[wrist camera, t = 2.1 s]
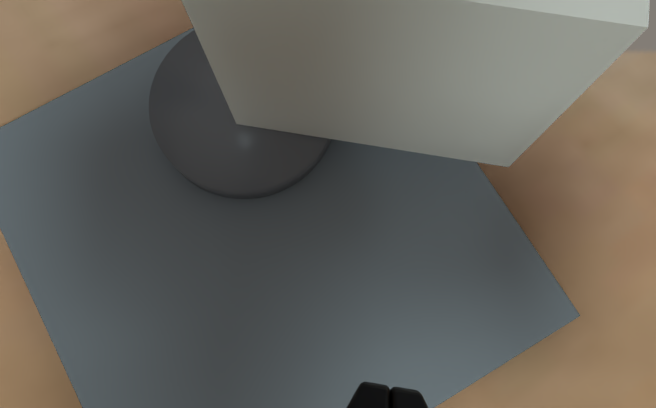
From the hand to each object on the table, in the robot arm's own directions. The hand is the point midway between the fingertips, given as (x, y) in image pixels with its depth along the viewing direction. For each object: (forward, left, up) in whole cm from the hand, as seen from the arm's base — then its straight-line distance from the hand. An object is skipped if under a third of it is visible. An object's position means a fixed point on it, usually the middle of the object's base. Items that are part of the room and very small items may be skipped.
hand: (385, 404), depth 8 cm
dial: (+8, -4, -13) cm, 16 cm away
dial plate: (+6, +1, -14) cm, 15 cm away
